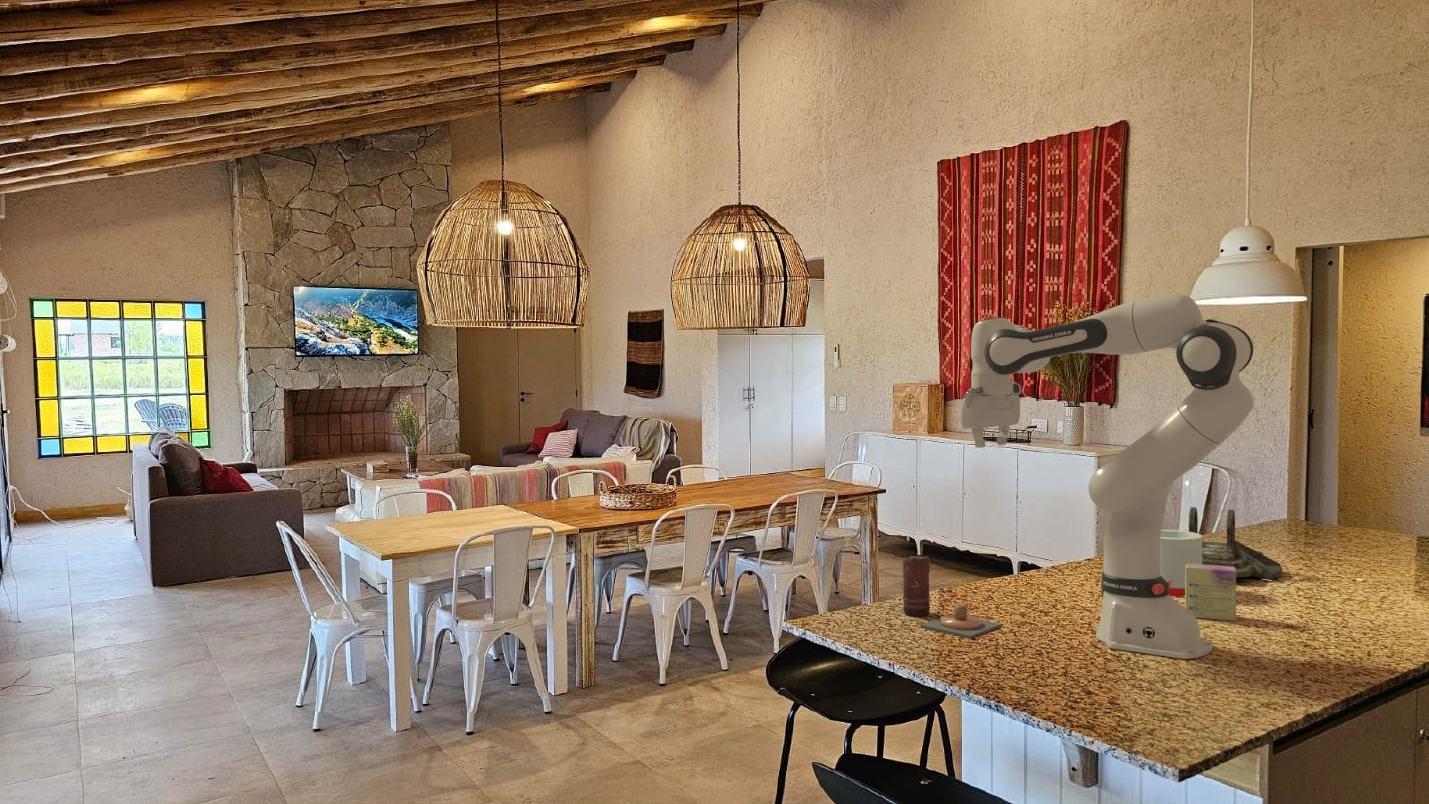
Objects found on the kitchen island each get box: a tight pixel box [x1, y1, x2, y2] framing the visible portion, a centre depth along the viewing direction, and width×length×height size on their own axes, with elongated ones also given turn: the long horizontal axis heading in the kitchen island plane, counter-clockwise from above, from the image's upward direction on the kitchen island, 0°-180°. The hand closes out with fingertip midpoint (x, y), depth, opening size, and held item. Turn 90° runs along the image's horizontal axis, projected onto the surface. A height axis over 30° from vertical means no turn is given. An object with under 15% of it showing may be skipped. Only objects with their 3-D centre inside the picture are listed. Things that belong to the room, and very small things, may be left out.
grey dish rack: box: [1188, 506, 1283, 580], centre depth 270 cm, size 35×34×18 cm
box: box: [1184, 563, 1237, 622], centre depth 221 cm, size 10×6×12 cm, turn 65°
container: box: [1160, 529, 1203, 598], centre depth 248 cm, size 16×16×15 cm
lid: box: [940, 604, 982, 630], centre depth 216 cm, size 9×9×4 cm
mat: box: [919, 617, 1002, 639], centre depth 216 cm, size 13×13×1 cm
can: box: [902, 554, 931, 618], centre depth 228 cm, size 6×6×14 cm
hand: (991, 446), depth 222 cm, fingers open, 8 cm apart
